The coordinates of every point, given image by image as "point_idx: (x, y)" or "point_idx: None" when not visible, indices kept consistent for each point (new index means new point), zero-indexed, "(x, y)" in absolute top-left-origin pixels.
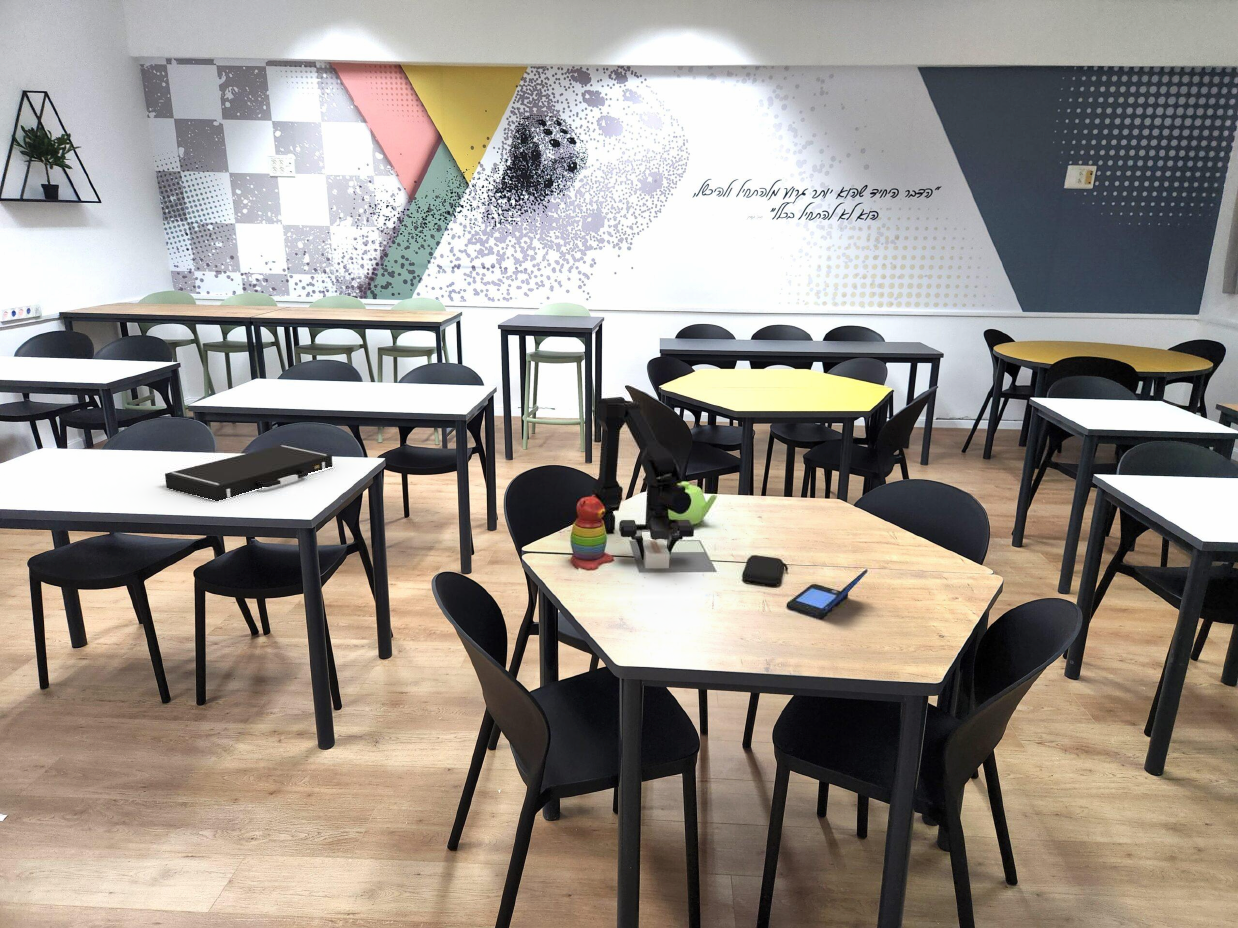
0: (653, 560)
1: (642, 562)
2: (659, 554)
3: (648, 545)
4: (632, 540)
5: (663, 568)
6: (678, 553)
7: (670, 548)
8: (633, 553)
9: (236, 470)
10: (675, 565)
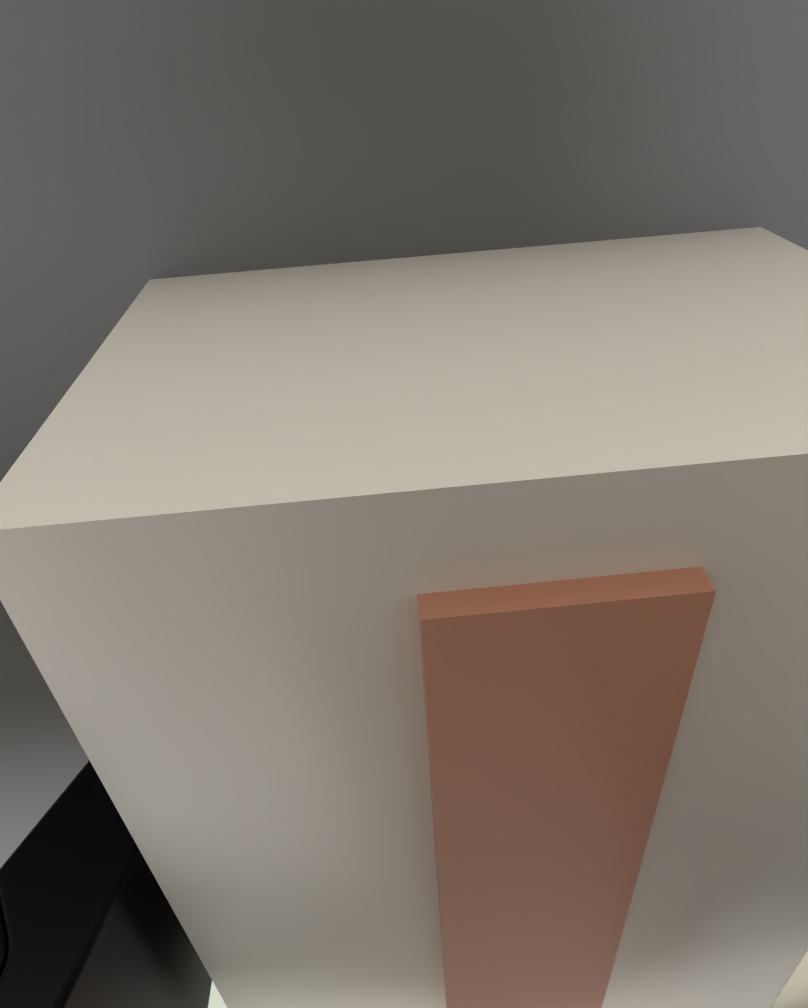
0: (643, 322)
1: None
2: (479, 458)
3: (686, 937)
4: None
5: (290, 257)
6: None
7: (48, 889)
8: None
9: None
10: (9, 452)
